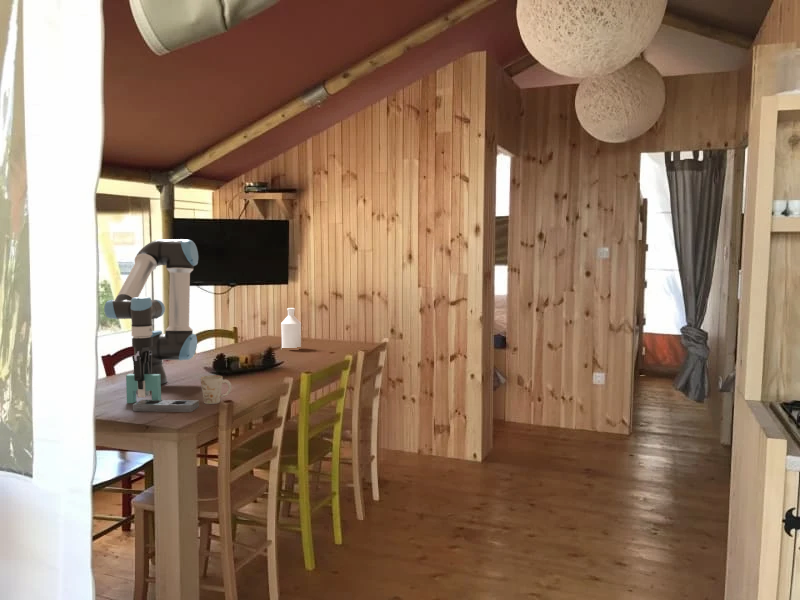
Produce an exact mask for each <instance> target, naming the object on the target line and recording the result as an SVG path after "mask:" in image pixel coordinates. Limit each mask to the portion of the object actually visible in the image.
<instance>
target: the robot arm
mask: <svg viewBox="0 0 800 600" xmlns="http://www.w3.org/2000/svg"><path fill="white" fill-rule="evenodd" d="M198 263H199V251H198V247H197V245H196V243H195V242H194V241H193V240H191V239H184V238H180V239H179V238H178V239H177V238H176V239H175V238H174V239H173V238H172V239H168V238H167V239H163V238H162V239H154V240H153V241H152V240H151V242H149V243H147V244H146V245H144V246H143V247H142V248H141V249H140V250H139V251H138V253H137V254H136V256H135V257H134V264H133V267H132V268H131V270H130V272H129V274H128V276H127V278H125V281H124V282H123V285H122V287H121V289H120V290H119V292H118V294H117V296H116V297H115V299H111V300H110V299H109V300H107V301H106V302H105V303H104V306H103V307H104V308H103V310H104V315H105V316H106V318H108V319H113V320H123V319H124V320H130V319H131V320H130V321H131V336H132V338H131V346H132V348H133V349H134V355H132V357H131V359H132V363H133V364H132V365H133V371H132V374H134V379H135V381H138V391H137V397H138V398H146V397H147V396H151V395H150V394H151V393H150V392H151V391H145V381H144V374H160V375H161V385H163V384H164V385H165V384H166V383H168V376H167V373H166V370H165V368H164V365H163V361H188V360H189V361H190V360H191V359H192V358H193V357H194V356H195V353H196V351H197V349H198V348H197V347H198V338H197V334H195V333H193V329H192V328H191V327H190V297H191V295H190V291H191V290H190V289H191V288H190V287H191V286H190V285H191V283H190V282H191V273H192V272H193V271H194V267H195V266H197V265H198ZM159 266H166V270H167V272H168V273H169V293H168V294H169V304H168V305H169V308H168V327H167V328H166V329H165V331H164V332H165V333H163V331H162V330H154V328H153V320H156V319H158V318H160V317H162V316H163V315H164V314H165V311H166V306H165V304H164V303H163V302H162V301H161V300H159V299H152V298H151V297H149V296H140V295H141V293H142V291H143V289H144V287H145V285H146V283H147V281H148V279H149V277H150V275H151V273H152V272H153V271H155V270H156V269H157V267H159Z"/></svg>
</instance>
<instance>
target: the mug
mask: <svg viewBox="0 0 800 600" xmlns="http://www.w3.org/2000/svg"><path fill="white" fill-rule="evenodd" d="M223 378H224V377H223V376H222V375H219V374H218V375H215V374H213V375H203V376H201V377H200V386H201V392H202V398H203V403H204V404H206V405H216V404H220V402H221V398H223V397H227V396H228V395H229V394H230V393H231V392H232V383H231V382H230V380H228V379H223ZM223 384H227V386H228V387H227V388H228V389H227V391H226V393H225V394H224V393H223V394H222V387H223Z"/></svg>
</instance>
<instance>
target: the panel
mask: <svg viewBox="0 0 800 600" xmlns="http://www.w3.org/2000/svg"><path fill="white" fill-rule="evenodd" d="M144 381H145V391H150V392H151V400H162V386H161V385H162V384H161V375H160V374H144ZM125 382H126V383H125V384H126V385H125V386H126V387H125V388H126V389H125V390H126V403H127V404H135V403H137V392H138V381H135V379H134V374H133V373H128V374H126V375H125Z"/></svg>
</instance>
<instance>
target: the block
mask: <svg viewBox="0 0 800 600" xmlns="http://www.w3.org/2000/svg"><path fill="white" fill-rule="evenodd" d="M198 408H200V400H199V399H198V400H197V399H192V400H191V399H190V400H189V399H185V400H184V399H161V400H152V399H141V400H139V401H136V402H134V403H132V412H153V413H154V412H157V413H161V412H163V413H164V412H167V413H169V412H170V413H192V412H194V411H195V410H197V409H198Z"/></svg>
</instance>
